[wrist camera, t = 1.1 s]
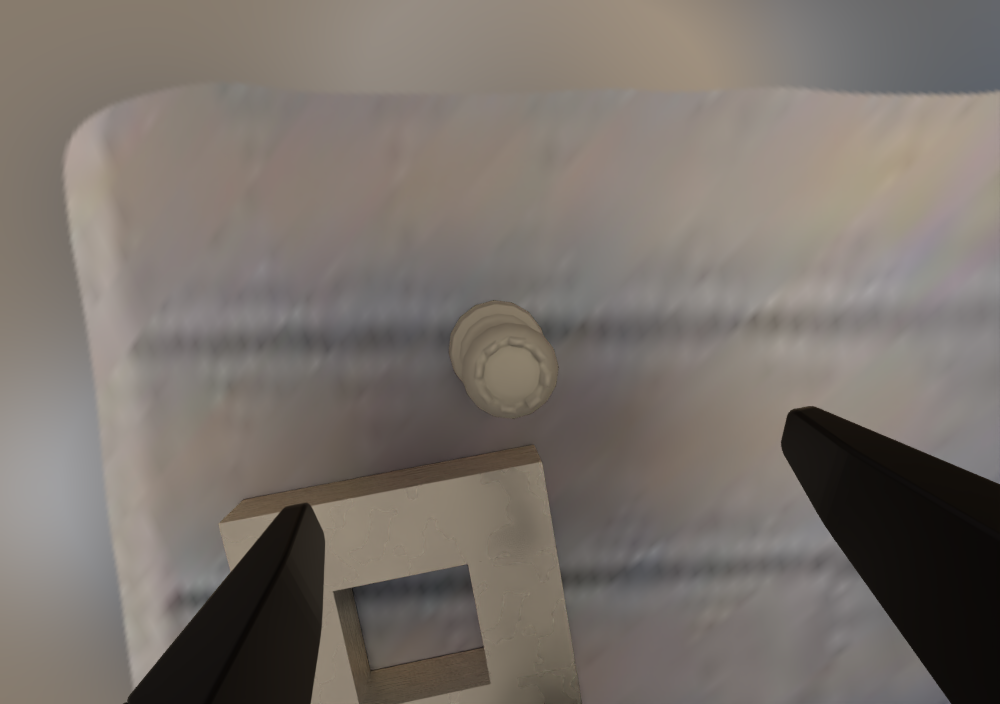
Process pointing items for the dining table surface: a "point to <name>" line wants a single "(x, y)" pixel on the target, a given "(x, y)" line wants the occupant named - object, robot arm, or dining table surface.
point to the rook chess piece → (503, 359)
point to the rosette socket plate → (429, 547)
